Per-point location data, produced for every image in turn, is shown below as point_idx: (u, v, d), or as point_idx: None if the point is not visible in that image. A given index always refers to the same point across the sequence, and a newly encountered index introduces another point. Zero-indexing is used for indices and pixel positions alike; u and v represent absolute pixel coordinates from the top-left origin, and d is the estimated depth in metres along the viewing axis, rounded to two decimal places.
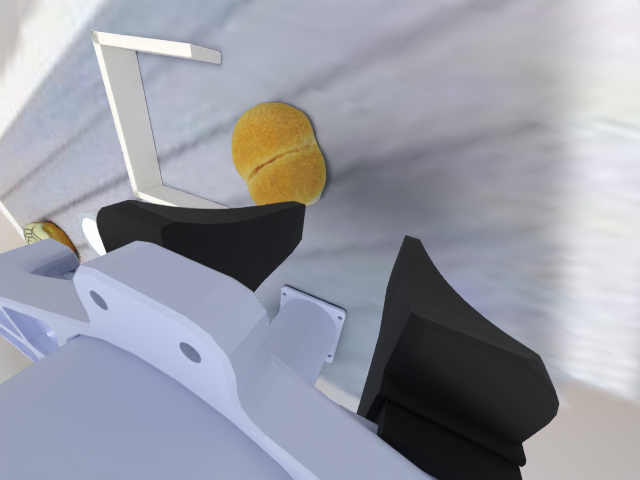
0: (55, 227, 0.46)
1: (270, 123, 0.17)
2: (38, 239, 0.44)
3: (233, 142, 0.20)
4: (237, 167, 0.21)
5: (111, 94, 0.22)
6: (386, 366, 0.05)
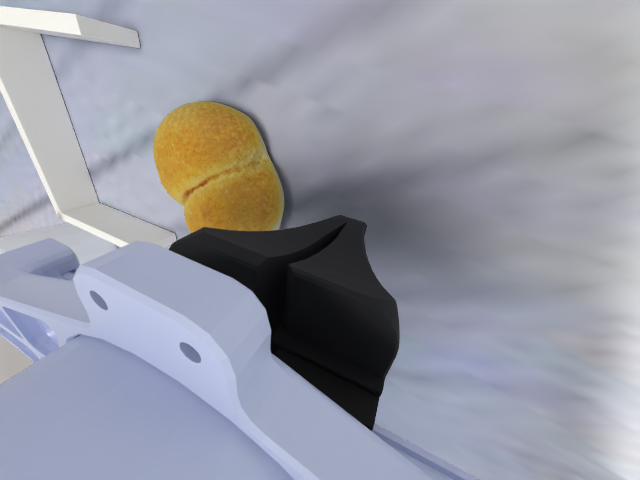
0: None
1: (194, 132, 0.12)
2: None
3: (154, 156, 0.14)
4: (166, 189, 0.15)
5: (4, 90, 0.17)
6: (283, 318, 0.06)
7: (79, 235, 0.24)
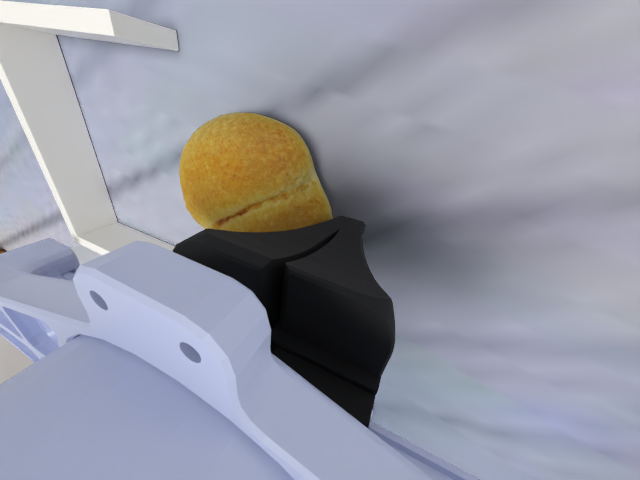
0: None
1: (234, 152, 0.10)
2: None
3: (180, 178, 0.12)
4: (191, 214, 0.13)
5: (15, 101, 0.14)
6: (280, 317, 0.06)
7: None
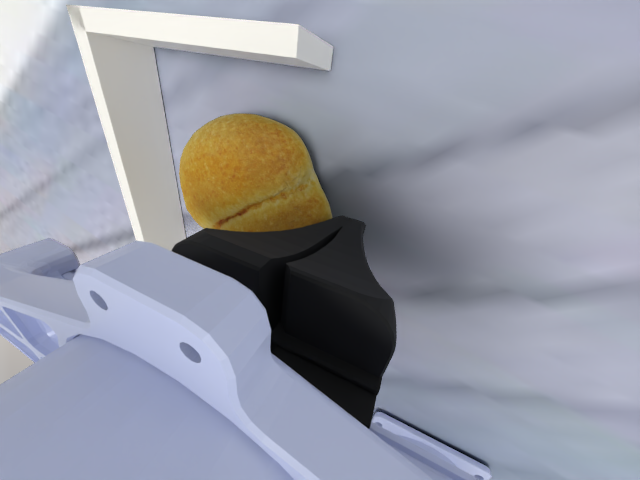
0: None
1: (234, 153, 0.10)
2: None
3: (180, 179, 0.12)
4: (192, 216, 0.13)
5: (109, 125, 0.12)
6: (281, 318, 0.06)
7: None
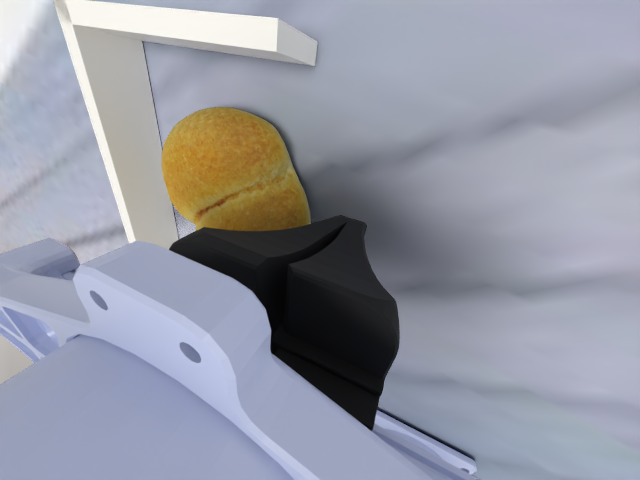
0: None
1: (210, 144, 0.10)
2: None
3: (162, 170, 0.12)
4: (175, 206, 0.14)
5: (97, 119, 0.12)
6: (283, 319, 0.06)
7: None
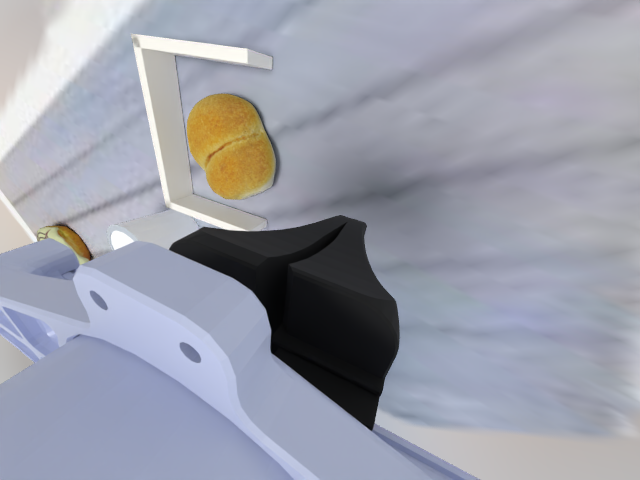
0: (70, 231, 0.44)
1: (216, 112, 0.19)
2: None
3: (187, 131, 0.21)
4: (193, 156, 0.22)
5: (149, 101, 0.21)
6: (283, 318, 0.06)
7: (176, 222, 0.28)
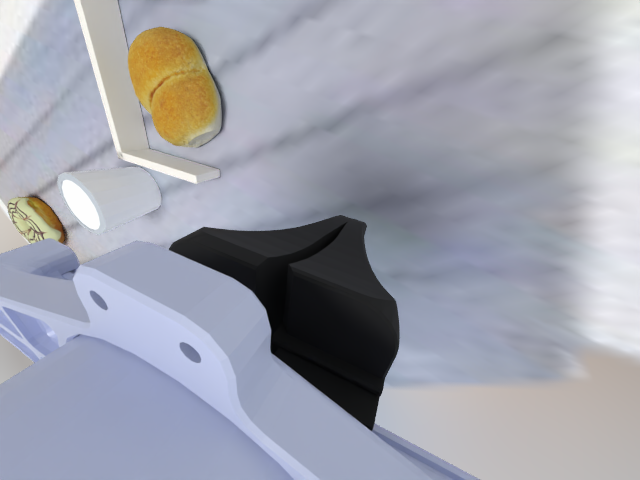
0: (41, 202, 0.44)
1: (151, 43, 0.18)
2: (22, 214, 0.42)
3: (129, 70, 0.21)
4: (138, 98, 0.22)
5: (89, 37, 0.20)
6: (283, 318, 0.06)
7: (132, 177, 0.28)
